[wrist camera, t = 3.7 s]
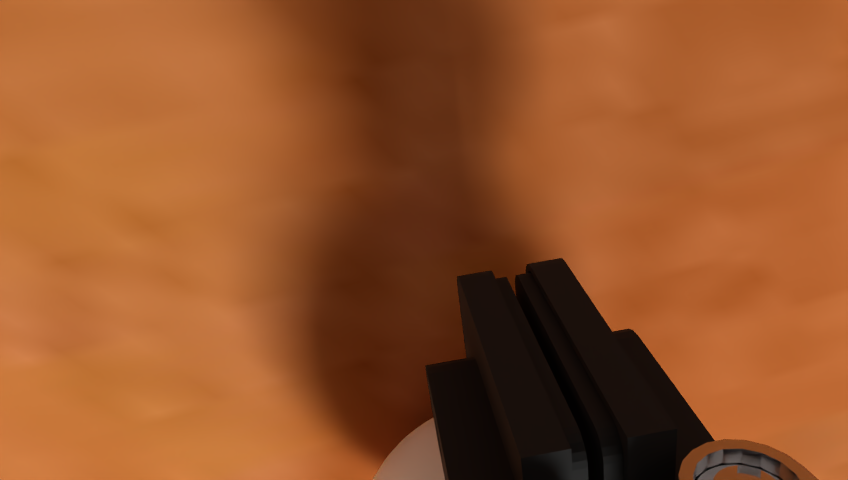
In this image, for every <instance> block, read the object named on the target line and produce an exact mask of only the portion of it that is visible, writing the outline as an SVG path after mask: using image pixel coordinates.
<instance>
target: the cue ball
mask: <svg viewBox="0 0 848 480" xmlns="http://www.w3.org/2000/svg"><path fill="white" fill-rule="evenodd" d="M373 480H445V477H444V472H443V467H442V462H441V456H440V451H439V446H438V440H437V435H436V429H435V423H434V418H431V419H430V420H428V421H426V422H425V423H423V424H422V425H420V426H419V427H417V428H416V429H415V430H413V431H412V432H411V433H410V434H408V435H407V436H406V437H405V438H404V439H403V440H402V441H401V442H400V443H399V444H398V445H397V446H396V447H395V448H394V449H393V450H392V452H391V453H390V454H389V455H388V456H387V458H386V459H385V460H384V462H383V463H382V465H381V466H380V468H379V470H378V471H377V473H376V474H375V476H374V478H373Z"/></svg>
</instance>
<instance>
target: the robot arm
mask: <svg viewBox="0 0 848 480" xmlns="http://www.w3.org/2000/svg"><path fill="white" fill-rule="evenodd" d="M457 286H458V294H459V302H460V310H461V318H462V326H463V333H464V341H465V349H466V357H467V358H465V359H459V360H454V361H448V362H443V363H437V364H432V365H426V366H425V367H426V375H427V381H428V387H429V393H430V399H431V406H432V412H433V418H434V423H435V429H436V435H437V440H438V446H439V451H440V456H441V462H442V467H443V472H444V477H445V480H818V479H817V478H816V477H815V476H814V475H813V474H812V473H811V472H809V471H808V470H807V469H806V468H805V467H804V466H802V465H801V464H800V463H798V462H797V461H796V460H794V459H793V458H791V457H790V456H789V455H787V454H785V453H783V452H781V451H779V450H776V449H774V448H772V447H770V446H768V445H764V444H760V443H756V442H752V441H747V440H732V439H723V440H718V441H715V440H714V439H713V438H712V436H711V435H710V434H709V432H708V431H707V430H706V428H705V427H704V425H703V424H702V423H701V421H700V420H699V419H698V417H697V416H696V414H695V413H694V412H693V410H692V409H691V408H690V406H689V405H688V403H687V402H686V401H685V399H684V398H683V397H682V395H681V394H680V392H679V391H678V390H677V388H676V387H675V386H674V384H673V383H672V382H671V380H670V379H669V377H668V376H667V375H666V373H665V372H664V371H663V369H662V368H661V366H660V365H659V364H658V362H657V361H656V360H655V358H654V357H653V355H652V354H651V353H650V351H649V350H648V349H647V347H646V346H645V344H644V343H643V342H642V340H641V339H640V338H639V336H638V335H637V334H636V333H635V332H634V331H633V330H630V329H625V330H619V331H614V332H612V331H611V329H610V328H609V326H608V325H607V323H606V322H605V320H604V319H603V317H602V316H601V314H600V313H599V311H598V310H597V309H596V307H595V306H594V304H593V303H592V301H591V300H590V298H589V297H588V295H587V294H586V292H585V291H584V289H583V288H582V286H581V285H580V283H579V282H578V280H577V279H576V277H575V276H574V274H573V273H572V271H571V270H570V268H569V267H568V265H567V264H566V262H565V261H564V260H563V259H562V258H559V259H554V260H548V261H542V262H537V263H531V264H527V266H526V274H520V275H516V277H515V288H516V296H515V294H514V291H513V289H512V287H511V285H510V283H509V281H508V279H507V278H506V277H503V278H497V279H495V276H494V274H493V272H492V271H485V272H479V273H474V274H468V275H462V276H457Z"/></svg>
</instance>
